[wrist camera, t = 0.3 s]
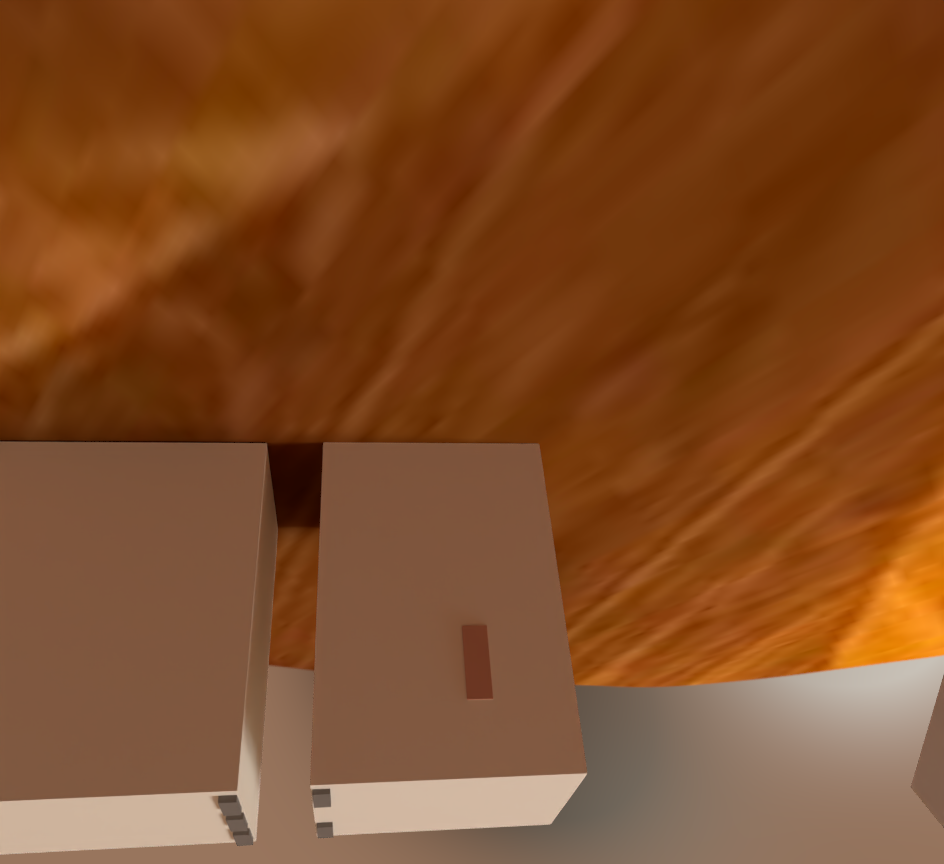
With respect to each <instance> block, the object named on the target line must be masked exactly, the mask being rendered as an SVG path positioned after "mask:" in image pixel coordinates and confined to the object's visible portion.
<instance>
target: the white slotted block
mask: <svg viewBox="0 0 944 864" xmlns="http://www.w3.org/2000/svg"><path fill="white" fill-rule="evenodd" d="M277 536H278V525H277V517H276V510H275V502H274V494H273V487H272V479H271V471H270V463H269V456H268V448H267V443H167V442H5V441H0V854H19V853H38V852H56V851H76V850H96V849H115V848H133V847H153V846H172V845H191V844H211V843H230V842H236V844H237V846H243V845H253V841H256V834H257V820H258V806H259V792H260V777H261V763H262V748H263V735H264V721H265V706H266V692H267V678H268V664H269V650H270V636H271V621H272V607H273V593H274V579H275V565H276V550H277Z"/></svg>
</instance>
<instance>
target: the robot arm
mask: <svg viewBox="0 0 944 864" xmlns="http://www.w3.org/2000/svg"><path fill="white" fill-rule="evenodd" d="M911 788H912V789H913V791H914V792H915V793H916V794H917V795H918V797H919V798H920V799H921V800H922V802H923V803H924V804H925V805H926V807H927V808H928V809H929V810H930V812H931V813H932V814H933V815H934V816H935V818H936V819H937V820H938V821H939V823H940V824H941V825H942V826H943V828H944V676H943V679H942V683H941V686H940V690H939V693H938V696H937V700H936V703H935V706H934V710H933V714H932V717H931V720H930V724H929V727H928V730H927V734H926V737H925V741H924V744H923V747H922V751H921V754H920V758H919V761H918V764H917V768H916V771H915V775H914V778H913V782H912V785H911Z"/></svg>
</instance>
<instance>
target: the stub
mask: <svg viewBox="0 0 944 864" xmlns="http://www.w3.org/2000/svg"><path fill="white" fill-rule="evenodd" d="M586 775H587V767H586V760H585V753H584V746H583V740H582V733H581V726H580V719H579V713H578V706H577V699H576V692H575V685H574V678H573V671H572V665H571V658H570V651H569V644H568V637H567V630H566V624H565V617H564V610H563V603H562V596H561V590H560V583H559V576H558V569H557V562H556V555H555V549H554V542H553V535H552V528H551V521H550V515H549V508H548V501H547V494H546V487H545V481H544V474H543V467H542V460H541V453H540V446H539V444H504V443H346V442H323V460H322V486H321V513H320V539H319V566H318V592H317V618H316V645H315V671H314V697H313V725H312V751H311V779H310V788H311V795H312V802H313V810H314V818H315V826H316V833H317V836H318V838H328V837H329V838H330V837H333V835H351V834H369V833H390V832H410V831H429V830H449V829H467V828H488V827H508V826H527V825H547V824H551V823H552V822H553V820H554V819H555V818H556V816H557V815H558V813H559V812H560V811H561V809H562V808H563V806H564V805H565V804H566V802H567V801H568V799H569V798H570V797H571V795H572V794H573V793H574V791H575V790H576V789H577V787H578V786H579V784H580V783H581V782H582V780H583V779H584V777H585V776H586Z"/></svg>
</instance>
